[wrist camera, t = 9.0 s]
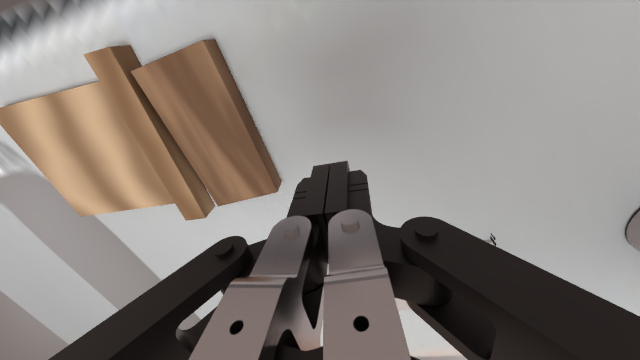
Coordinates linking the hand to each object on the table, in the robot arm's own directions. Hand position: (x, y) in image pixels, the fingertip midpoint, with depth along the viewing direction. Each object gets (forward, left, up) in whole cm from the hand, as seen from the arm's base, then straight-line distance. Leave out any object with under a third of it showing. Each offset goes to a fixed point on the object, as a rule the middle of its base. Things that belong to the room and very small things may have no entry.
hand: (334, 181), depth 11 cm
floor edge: (+25, 0, -13) cm, 28 cm away
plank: (+8, 0, -12) cm, 15 cm away
